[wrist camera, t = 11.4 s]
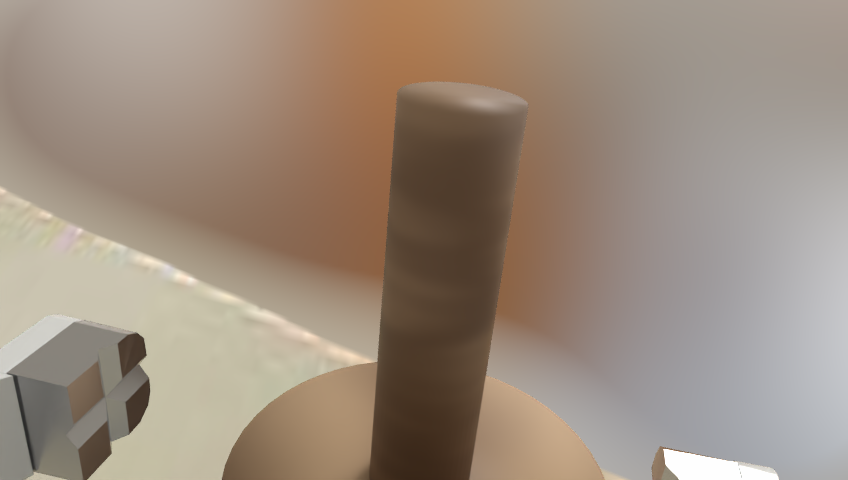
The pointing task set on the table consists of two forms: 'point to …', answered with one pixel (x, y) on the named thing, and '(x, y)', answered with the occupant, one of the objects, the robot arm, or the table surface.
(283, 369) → the table surface
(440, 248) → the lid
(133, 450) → the table surface
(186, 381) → the table surface
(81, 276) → the table surface
